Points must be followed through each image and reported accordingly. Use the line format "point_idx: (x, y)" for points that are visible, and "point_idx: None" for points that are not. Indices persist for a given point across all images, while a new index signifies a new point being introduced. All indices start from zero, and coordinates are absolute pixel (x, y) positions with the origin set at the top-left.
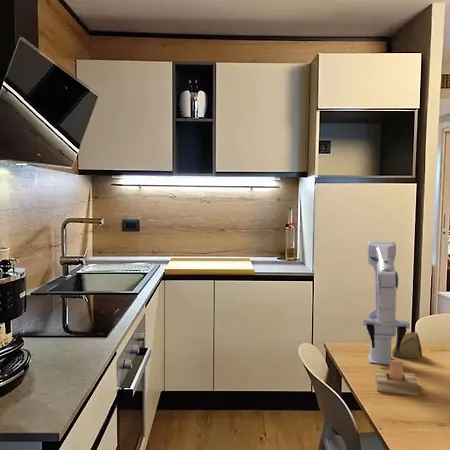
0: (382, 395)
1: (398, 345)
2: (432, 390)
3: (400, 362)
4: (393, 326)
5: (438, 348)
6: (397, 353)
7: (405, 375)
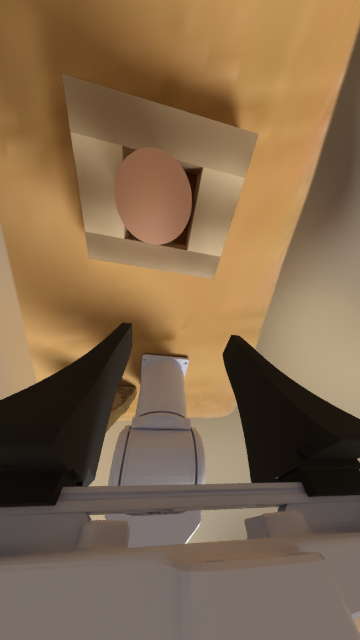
0: (239, 85)
1: (118, 334)
2: (37, 180)
3: (131, 193)
4: (118, 495)
5: None
6: (126, 392)
7: (121, 235)
